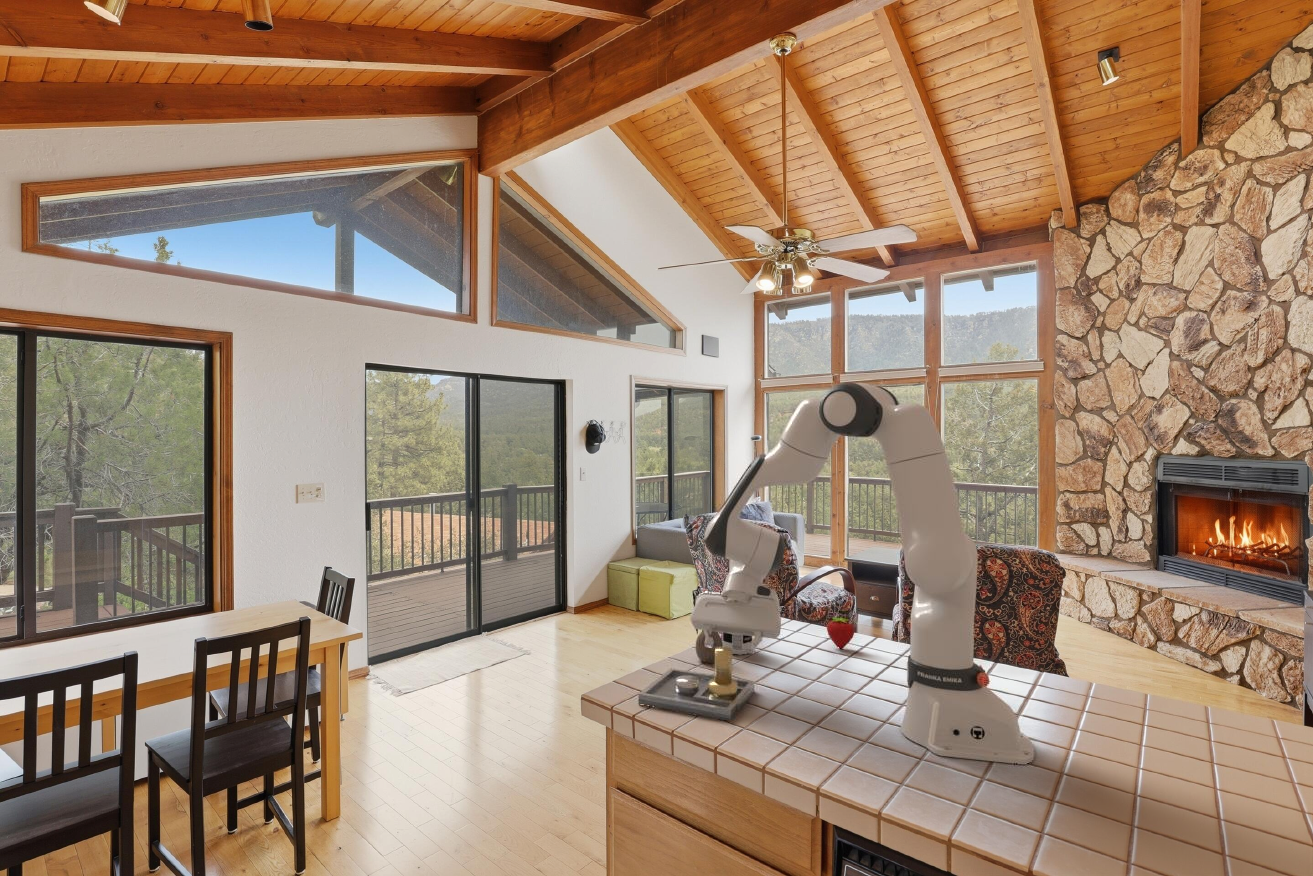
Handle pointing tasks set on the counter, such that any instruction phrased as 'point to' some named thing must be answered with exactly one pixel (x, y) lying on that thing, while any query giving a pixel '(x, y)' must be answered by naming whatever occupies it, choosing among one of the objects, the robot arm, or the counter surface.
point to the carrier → (693, 695)
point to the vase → (704, 652)
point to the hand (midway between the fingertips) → (728, 649)
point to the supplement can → (736, 642)
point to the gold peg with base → (723, 676)
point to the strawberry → (840, 631)
